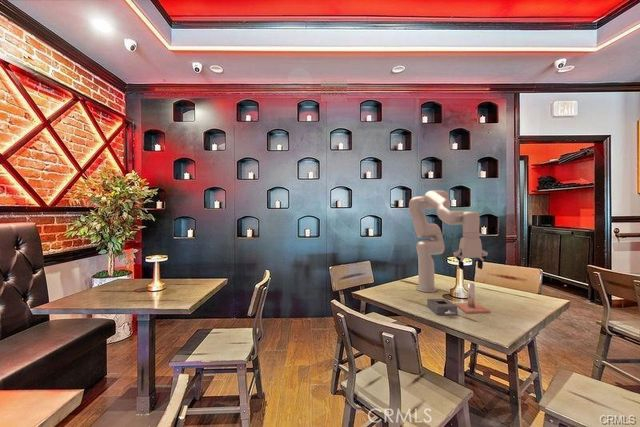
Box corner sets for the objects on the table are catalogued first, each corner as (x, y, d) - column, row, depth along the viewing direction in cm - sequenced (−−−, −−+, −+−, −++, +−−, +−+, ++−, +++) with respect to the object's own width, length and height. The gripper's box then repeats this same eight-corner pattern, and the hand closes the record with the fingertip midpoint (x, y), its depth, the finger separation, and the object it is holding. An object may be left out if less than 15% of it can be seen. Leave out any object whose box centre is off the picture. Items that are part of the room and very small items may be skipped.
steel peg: (466, 305, 149) (466, 282, 149) (472, 305, 149) (472, 282, 149) (470, 308, 146) (469, 284, 145) (476, 307, 146) (475, 284, 146)
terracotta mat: (454, 305, 153) (454, 303, 153) (476, 304, 153) (476, 302, 153) (466, 313, 141) (466, 311, 141) (490, 312, 141) (490, 310, 141)
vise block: (427, 306, 152) (427, 299, 152) (445, 306, 152) (445, 298, 152) (440, 317, 136) (440, 309, 136) (461, 317, 136) (461, 309, 136)
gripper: (483, 234, 151) (482, 266, 151) (450, 235, 150) (450, 267, 151) (492, 236, 143) (491, 270, 144) (457, 236, 143) (457, 270, 143)
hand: (470, 268), depth 147 cm, fingers open, 9 cm apart
